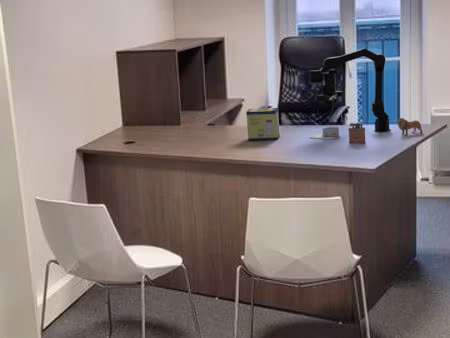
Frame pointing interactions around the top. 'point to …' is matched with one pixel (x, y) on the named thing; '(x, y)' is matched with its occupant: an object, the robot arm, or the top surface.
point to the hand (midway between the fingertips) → (331, 112)
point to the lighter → (356, 134)
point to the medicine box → (330, 131)
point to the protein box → (263, 124)
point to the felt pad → (320, 136)
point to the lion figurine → (408, 125)
